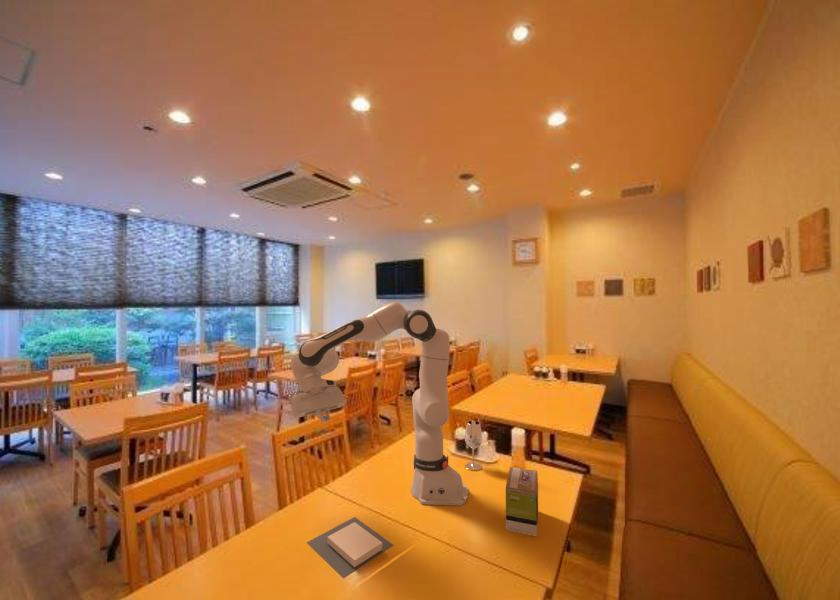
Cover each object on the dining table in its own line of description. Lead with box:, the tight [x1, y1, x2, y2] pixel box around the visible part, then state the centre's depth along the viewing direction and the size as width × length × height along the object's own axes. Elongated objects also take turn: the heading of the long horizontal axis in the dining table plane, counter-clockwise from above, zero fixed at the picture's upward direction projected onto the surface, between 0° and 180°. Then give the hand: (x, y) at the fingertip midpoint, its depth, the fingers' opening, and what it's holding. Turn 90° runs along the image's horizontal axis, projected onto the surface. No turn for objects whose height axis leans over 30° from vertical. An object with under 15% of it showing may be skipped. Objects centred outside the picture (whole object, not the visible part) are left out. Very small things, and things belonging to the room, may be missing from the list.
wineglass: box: [464, 420, 483, 471], centre depth 160 cm, size 8×8×20 cm
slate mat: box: [306, 516, 394, 579], centre depth 108 cm, size 20×18×1 cm
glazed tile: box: [327, 522, 382, 567], centre depth 106 cm, size 2×10×14 cm
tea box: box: [505, 466, 539, 537], centre depth 121 cm, size 15×10×15 cm
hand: (326, 421), depth 127 cm, fingers closed
